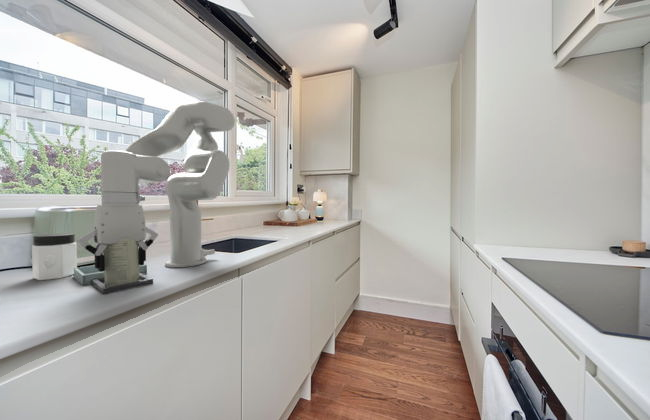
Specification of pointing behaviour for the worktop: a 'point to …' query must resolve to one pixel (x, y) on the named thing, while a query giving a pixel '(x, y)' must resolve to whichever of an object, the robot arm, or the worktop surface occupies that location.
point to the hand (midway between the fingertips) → (121, 266)
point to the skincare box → (121, 262)
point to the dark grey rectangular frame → (104, 289)
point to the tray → (95, 273)
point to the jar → (54, 255)
